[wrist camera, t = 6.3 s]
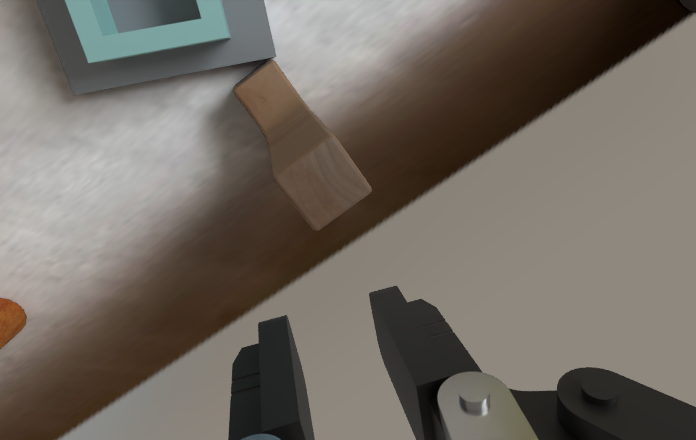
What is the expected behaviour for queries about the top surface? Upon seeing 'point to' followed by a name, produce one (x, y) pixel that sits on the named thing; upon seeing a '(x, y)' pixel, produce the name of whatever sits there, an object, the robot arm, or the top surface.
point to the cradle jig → (153, 38)
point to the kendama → (10, 320)
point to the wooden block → (301, 148)
